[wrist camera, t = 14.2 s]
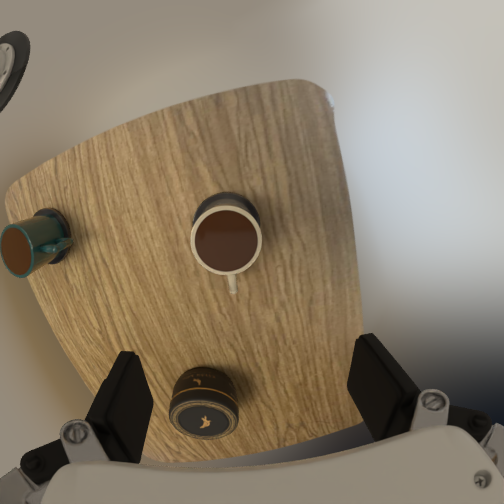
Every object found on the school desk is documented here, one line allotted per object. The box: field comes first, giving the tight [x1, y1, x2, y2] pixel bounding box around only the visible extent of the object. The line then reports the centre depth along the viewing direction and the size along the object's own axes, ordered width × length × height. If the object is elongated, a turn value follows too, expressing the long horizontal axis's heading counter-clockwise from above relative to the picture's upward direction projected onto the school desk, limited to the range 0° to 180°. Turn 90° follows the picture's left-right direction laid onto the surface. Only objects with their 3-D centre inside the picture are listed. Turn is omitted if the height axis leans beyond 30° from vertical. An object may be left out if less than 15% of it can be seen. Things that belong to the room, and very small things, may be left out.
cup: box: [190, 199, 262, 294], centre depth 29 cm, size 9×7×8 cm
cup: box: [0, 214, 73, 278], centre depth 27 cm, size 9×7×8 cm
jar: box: [169, 368, 239, 440], centre depth 36 cm, size 10×10×8 cm
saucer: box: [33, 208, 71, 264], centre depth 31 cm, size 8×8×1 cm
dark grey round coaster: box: [193, 192, 260, 227], centre depth 33 cm, size 8×8×1 cm
